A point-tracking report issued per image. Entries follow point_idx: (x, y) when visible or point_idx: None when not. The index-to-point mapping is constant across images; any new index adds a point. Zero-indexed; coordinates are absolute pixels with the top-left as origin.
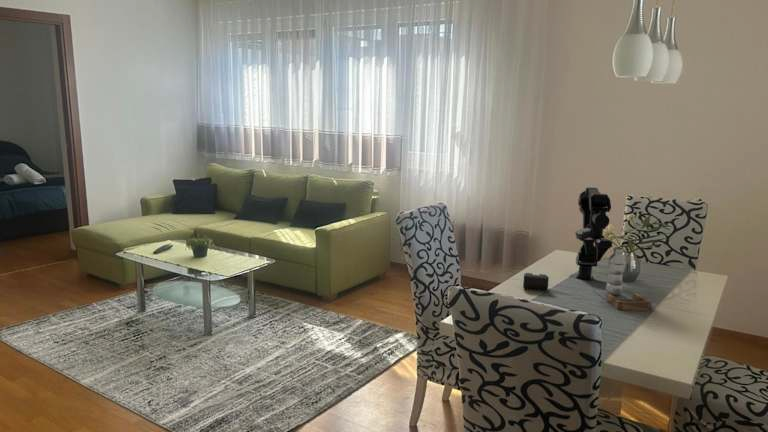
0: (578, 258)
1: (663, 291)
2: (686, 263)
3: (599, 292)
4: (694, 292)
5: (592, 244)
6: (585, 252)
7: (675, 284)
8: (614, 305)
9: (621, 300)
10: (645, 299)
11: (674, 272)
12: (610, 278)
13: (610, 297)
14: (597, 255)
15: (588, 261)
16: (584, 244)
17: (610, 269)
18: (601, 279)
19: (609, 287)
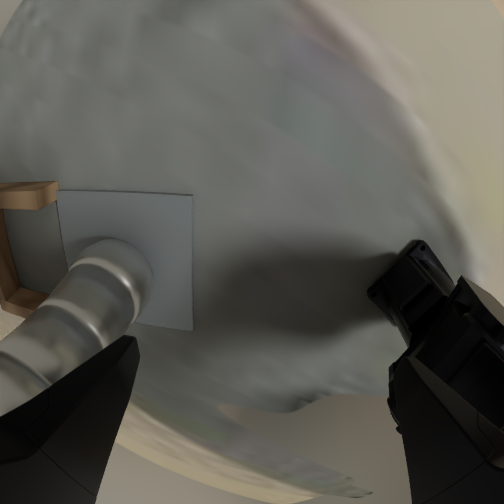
0: (480, 300)
1: (188, 430)
2: (361, 496)
3: (152, 213)
4: (184, 461)
5: (418, 501)
6: (469, 378)
7: (247, 466)
8: (7, 184)
9: (67, 256)
10: (17, 310)
11: (328, 483)
12: (64, 285)
13: (13, 190)
14: (69, 379)
15: (419, 347)
16: (500, 440)
17: (34, 323)
18: (362, 345)
19: (84, 252)
